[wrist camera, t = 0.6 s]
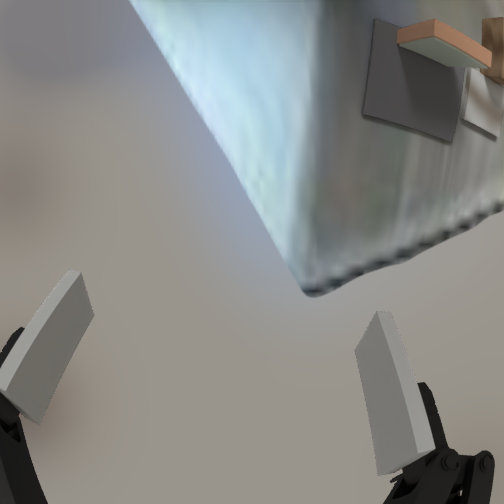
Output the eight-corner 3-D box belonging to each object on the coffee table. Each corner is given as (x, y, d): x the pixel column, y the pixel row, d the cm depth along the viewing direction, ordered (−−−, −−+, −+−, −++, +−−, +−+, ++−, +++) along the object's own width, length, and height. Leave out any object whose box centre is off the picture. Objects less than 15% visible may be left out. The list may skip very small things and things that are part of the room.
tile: (397, 29, 22) (434, 18, 15) (449, 52, 22) (491, 52, 15) (396, 45, 24) (433, 37, 16) (447, 67, 24) (490, 70, 16)
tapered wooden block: (469, 11, 18) (490, 7, 14) (505, 36, 18) (525, 36, 14) (460, 117, 28) (481, 124, 23) (494, 135, 28) (515, 144, 24)
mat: (373, 19, 23) (375, 18, 22) (463, 58, 23) (465, 58, 22) (361, 113, 30) (363, 113, 29) (449, 141, 30) (452, 142, 29)
